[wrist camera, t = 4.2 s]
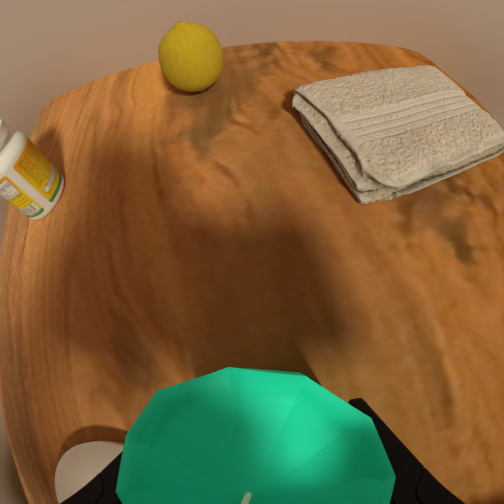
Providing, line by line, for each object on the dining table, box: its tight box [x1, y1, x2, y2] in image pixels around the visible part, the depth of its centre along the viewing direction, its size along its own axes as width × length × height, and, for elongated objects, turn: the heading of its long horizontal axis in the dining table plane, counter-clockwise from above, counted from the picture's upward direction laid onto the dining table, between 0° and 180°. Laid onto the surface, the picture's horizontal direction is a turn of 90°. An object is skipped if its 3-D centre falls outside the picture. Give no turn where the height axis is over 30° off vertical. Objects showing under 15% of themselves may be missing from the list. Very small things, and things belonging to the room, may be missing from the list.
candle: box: [116, 367, 396, 504], centre depth 8 cm, size 6×6×12 cm
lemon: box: [158, 21, 224, 92], centre depth 21 cm, size 6×6×8 cm
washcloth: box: [292, 65, 504, 204], centre depth 19 cm, size 12×18×3 cm, turn 112°
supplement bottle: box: [0, 119, 64, 220], centre depth 19 cm, size 5×5×10 cm
